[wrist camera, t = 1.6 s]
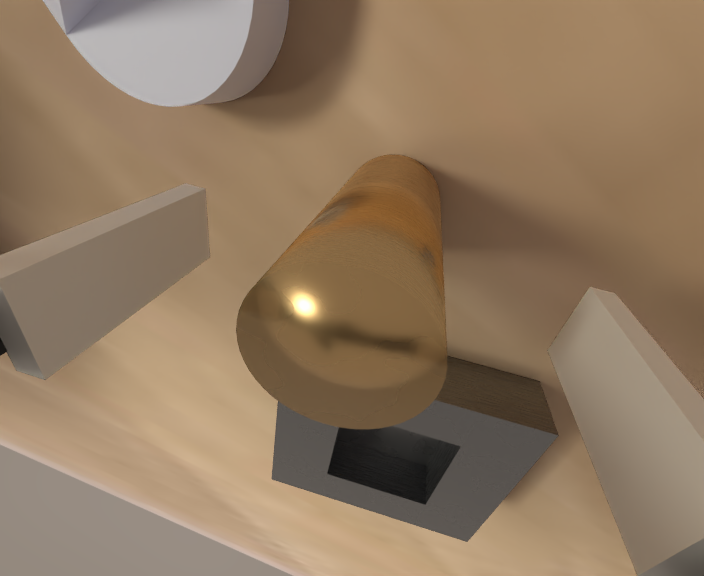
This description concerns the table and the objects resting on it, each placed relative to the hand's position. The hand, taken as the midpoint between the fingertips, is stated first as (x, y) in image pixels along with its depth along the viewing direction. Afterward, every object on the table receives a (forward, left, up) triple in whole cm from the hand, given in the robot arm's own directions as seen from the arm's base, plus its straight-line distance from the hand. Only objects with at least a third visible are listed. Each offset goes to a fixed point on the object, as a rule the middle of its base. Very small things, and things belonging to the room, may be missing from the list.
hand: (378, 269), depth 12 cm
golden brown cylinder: (0, 0, -7) cm, 7 cm away
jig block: (+4, -16, -7) cm, 18 cm away
